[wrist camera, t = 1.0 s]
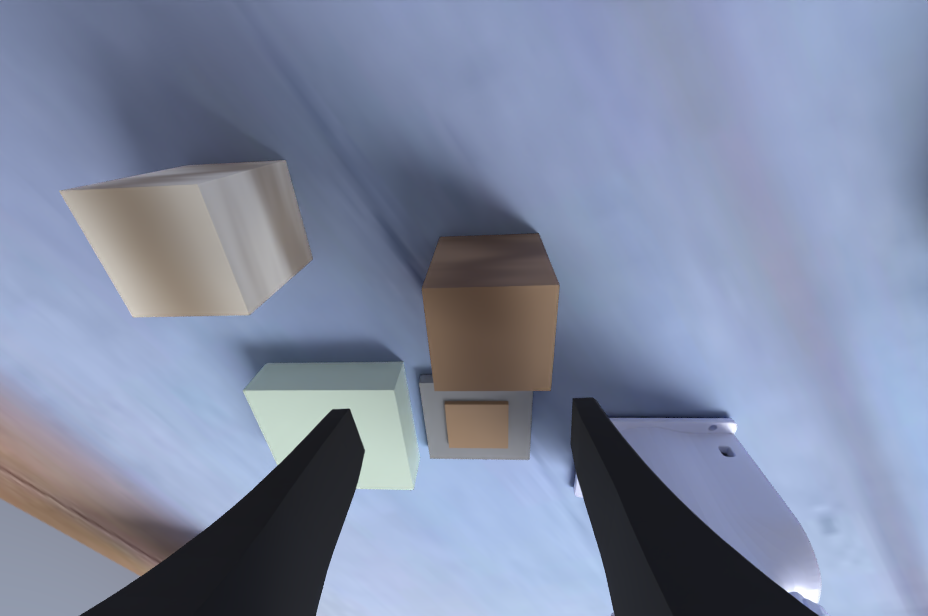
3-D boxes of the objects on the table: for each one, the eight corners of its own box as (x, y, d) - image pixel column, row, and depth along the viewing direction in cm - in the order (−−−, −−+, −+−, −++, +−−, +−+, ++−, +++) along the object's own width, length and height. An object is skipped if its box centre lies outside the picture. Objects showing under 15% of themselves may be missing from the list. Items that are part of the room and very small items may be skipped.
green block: (404, 357, 23) (394, 390, 20) (420, 453, 27) (413, 489, 25) (269, 359, 24) (242, 390, 21) (306, 451, 28) (287, 487, 25)
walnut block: (538, 233, 18) (559, 284, 13) (534, 318, 21) (550, 390, 15) (439, 236, 19) (421, 288, 13) (447, 319, 21) (434, 391, 16)
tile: (531, 374, 22) (533, 386, 22) (528, 450, 26) (529, 463, 25) (421, 374, 23) (418, 386, 22) (431, 449, 26) (429, 462, 25)
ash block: (286, 160, 17) (197, 184, 12) (313, 258, 20) (249, 315, 14) (187, 165, 17) (58, 190, 12) (225, 261, 20) (133, 317, 15)
